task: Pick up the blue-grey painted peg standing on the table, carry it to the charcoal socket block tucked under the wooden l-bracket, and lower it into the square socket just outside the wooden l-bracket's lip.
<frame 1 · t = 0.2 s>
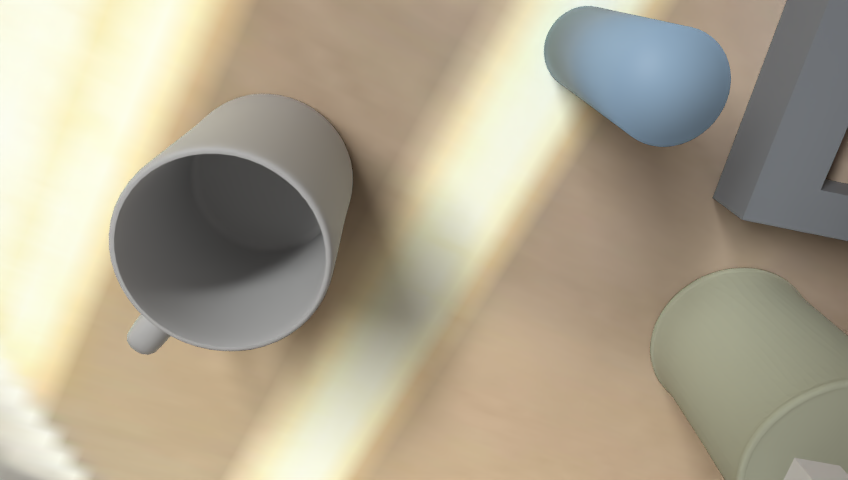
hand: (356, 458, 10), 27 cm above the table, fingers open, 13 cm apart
mug: (252, 197, 37), on the table
can: (726, 337, 41), on the table
peg: (584, 48, 35), on the table
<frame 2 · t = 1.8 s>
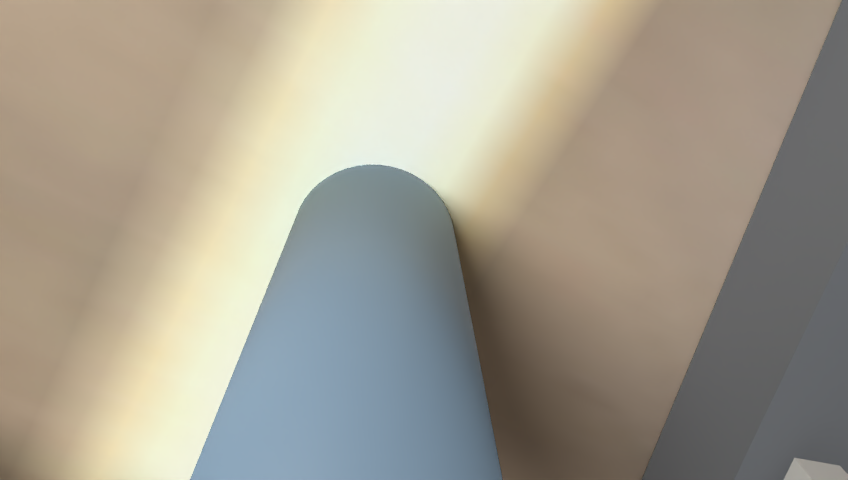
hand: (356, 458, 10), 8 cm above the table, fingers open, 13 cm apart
peg: (374, 242, 18), on the table
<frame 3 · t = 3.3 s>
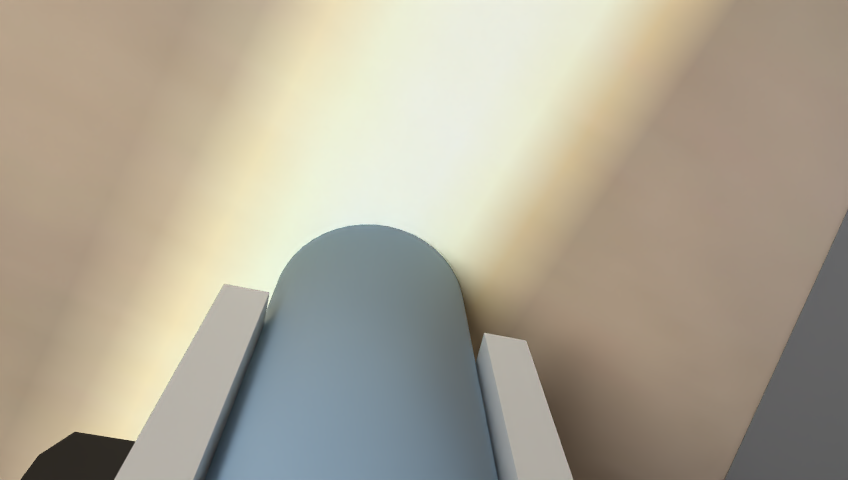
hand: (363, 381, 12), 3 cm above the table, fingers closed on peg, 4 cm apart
peg: (368, 314, 15), on the table, touching gripper
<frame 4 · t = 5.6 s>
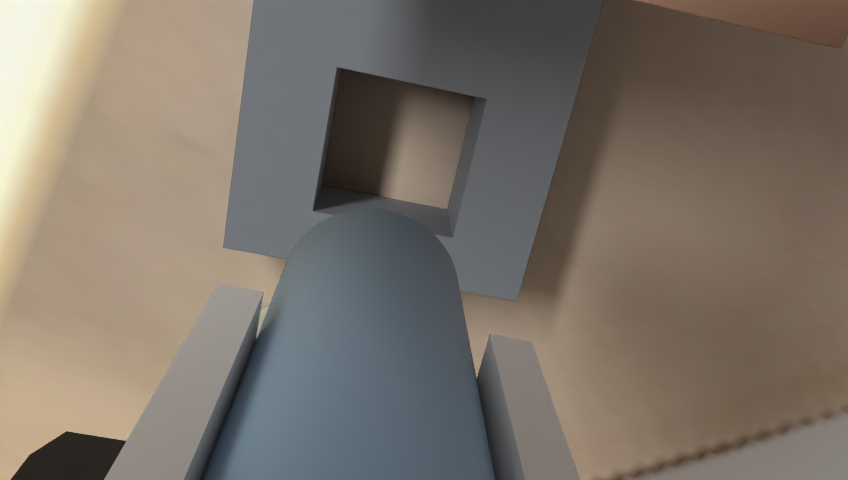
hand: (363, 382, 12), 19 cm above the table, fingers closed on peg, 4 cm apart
socket: (412, 65, 29), on the table
peg: (370, 292, 16), point 15 cm above the table, touching gripper
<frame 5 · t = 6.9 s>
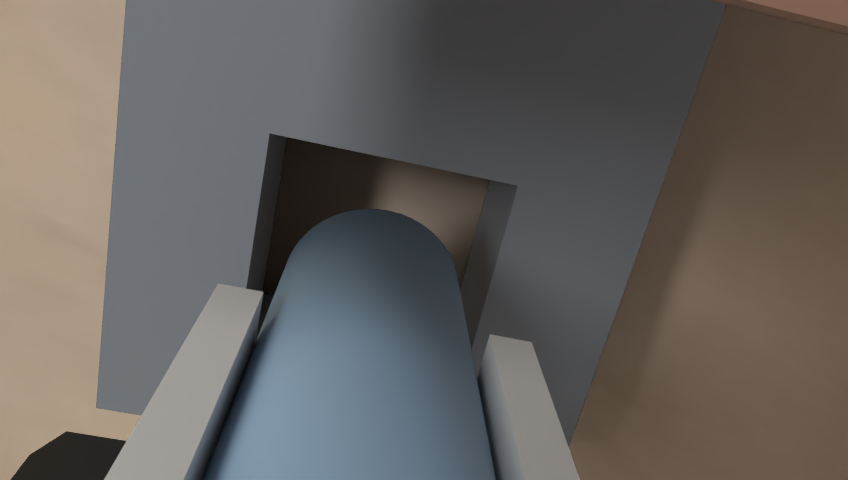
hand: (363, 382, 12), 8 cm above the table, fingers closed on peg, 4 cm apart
socket: (398, 119, 19), on the table
peg: (370, 292, 16), point 4 cm above the table, touching gripper
when the fingers open (4 cm above the table, at t = 8.0 s): peg stays where it is, resting in socket.
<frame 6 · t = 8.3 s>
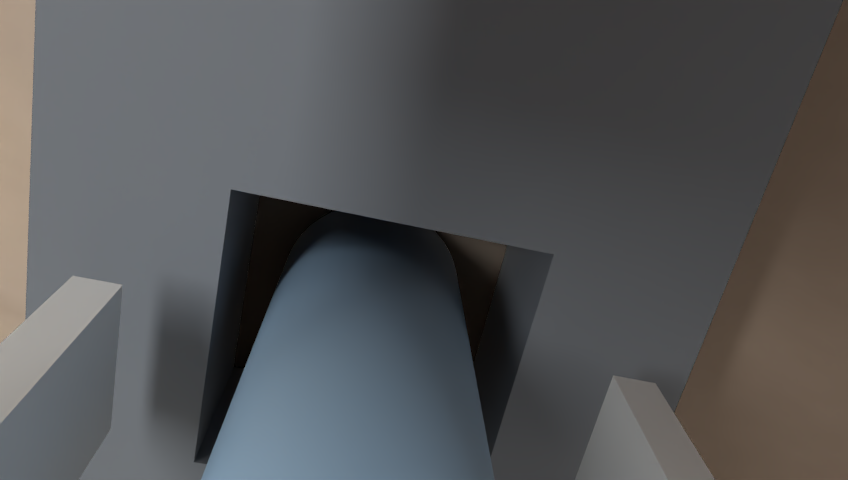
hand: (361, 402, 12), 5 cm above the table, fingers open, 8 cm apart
socket: (399, 159, 15), on the table
peg: (370, 287, 16), resting in socket
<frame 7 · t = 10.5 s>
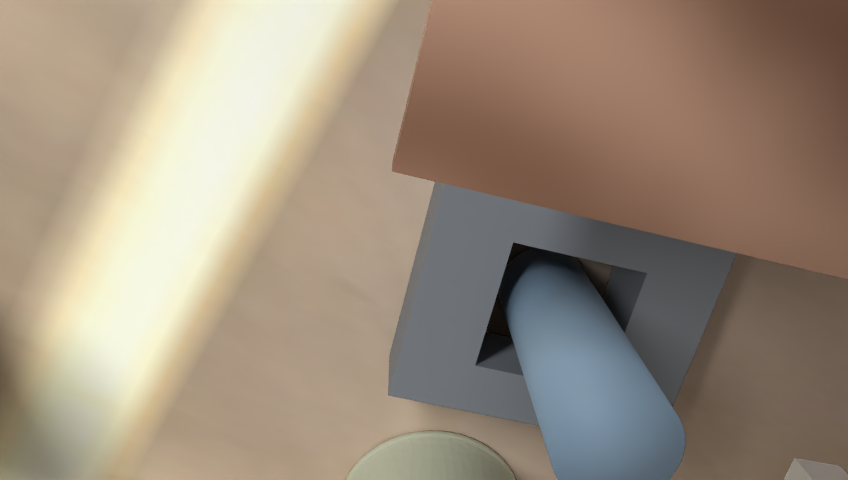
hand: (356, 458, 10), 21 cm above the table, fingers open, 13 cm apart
socket: (563, 225, 31), on the table
peg: (542, 288, 32), resting in socket
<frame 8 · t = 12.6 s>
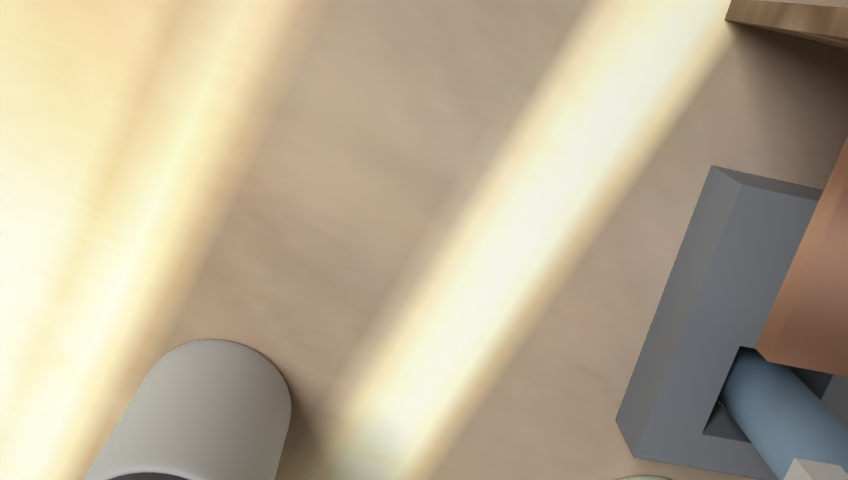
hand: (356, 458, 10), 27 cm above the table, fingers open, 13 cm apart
mug: (202, 419, 42), on the table
socket: (759, 321, 40), on the table
wooden l-bracket: (832, 152, 37), on the table
peg: (738, 367, 41), resting in socket
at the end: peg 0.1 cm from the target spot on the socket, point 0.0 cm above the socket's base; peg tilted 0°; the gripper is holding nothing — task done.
